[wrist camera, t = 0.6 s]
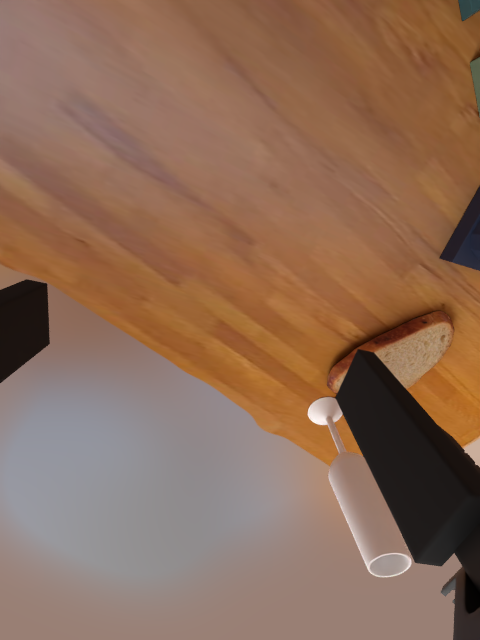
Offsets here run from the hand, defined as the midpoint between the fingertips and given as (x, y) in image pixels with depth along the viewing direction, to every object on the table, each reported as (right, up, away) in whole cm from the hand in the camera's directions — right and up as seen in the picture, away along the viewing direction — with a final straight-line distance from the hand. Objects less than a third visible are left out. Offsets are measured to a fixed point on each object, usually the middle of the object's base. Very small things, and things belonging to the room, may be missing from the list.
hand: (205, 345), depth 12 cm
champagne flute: (+18, -16, +41) cm, 47 cm away
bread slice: (+26, -5, +36) cm, 45 cm away
